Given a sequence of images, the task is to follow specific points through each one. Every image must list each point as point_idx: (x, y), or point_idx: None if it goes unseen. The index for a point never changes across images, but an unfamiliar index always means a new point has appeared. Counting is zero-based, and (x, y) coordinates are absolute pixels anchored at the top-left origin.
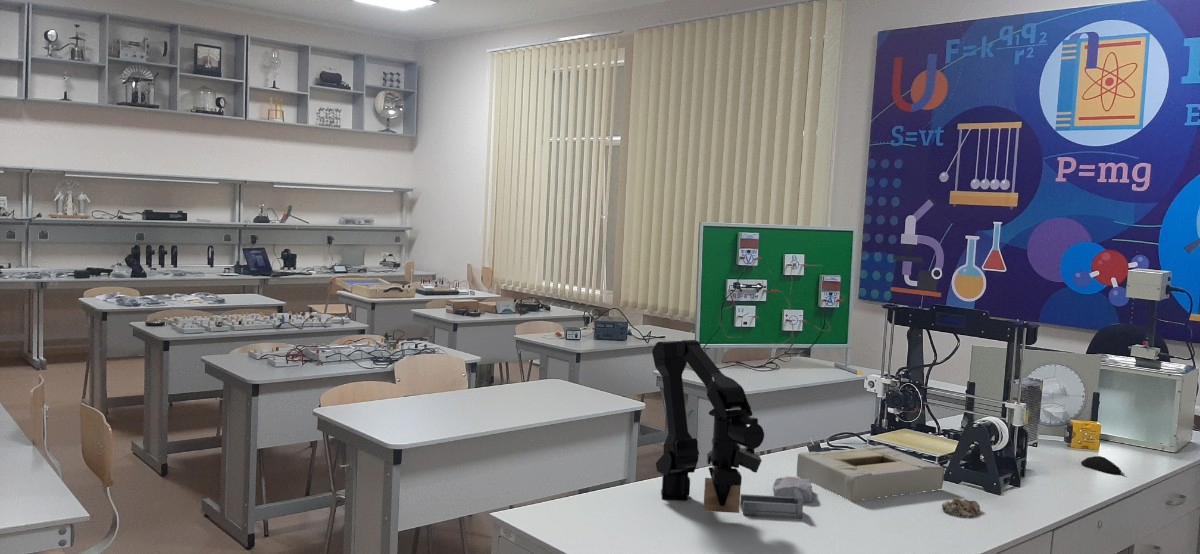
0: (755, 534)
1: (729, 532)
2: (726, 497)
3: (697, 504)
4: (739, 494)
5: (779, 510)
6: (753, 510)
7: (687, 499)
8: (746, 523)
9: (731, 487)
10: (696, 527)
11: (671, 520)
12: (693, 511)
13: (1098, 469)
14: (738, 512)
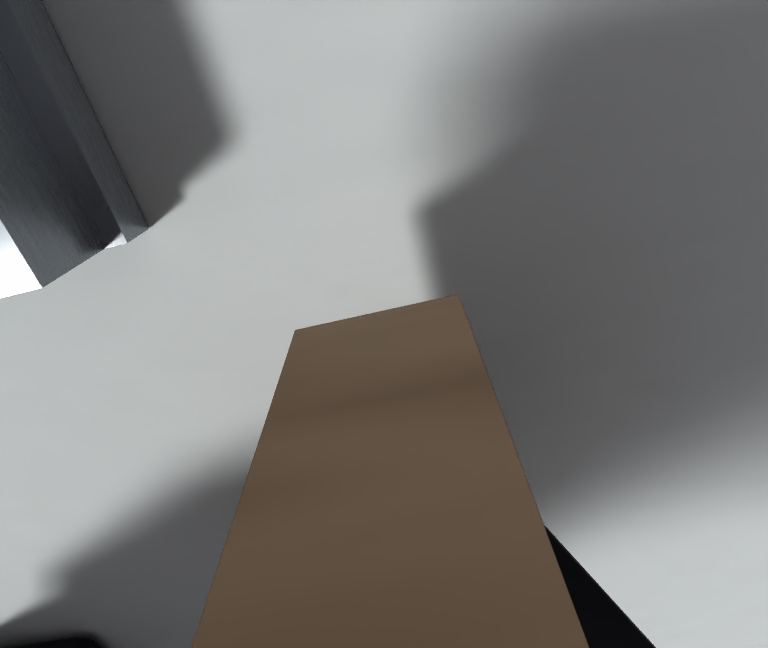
0: (754, 11)
1: (713, 298)
2: (616, 611)
3: (123, 577)
4: (525, 490)
5: None
6: (34, 121)
7: (85, 640)
8: (400, 165)
9: None
10: (629, 523)
11: None
12: None
13: None
14: (459, 303)
